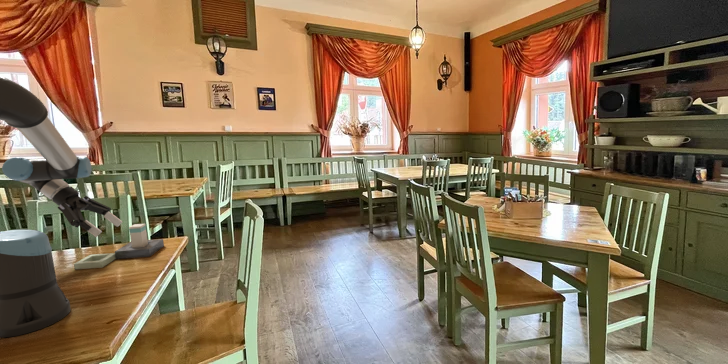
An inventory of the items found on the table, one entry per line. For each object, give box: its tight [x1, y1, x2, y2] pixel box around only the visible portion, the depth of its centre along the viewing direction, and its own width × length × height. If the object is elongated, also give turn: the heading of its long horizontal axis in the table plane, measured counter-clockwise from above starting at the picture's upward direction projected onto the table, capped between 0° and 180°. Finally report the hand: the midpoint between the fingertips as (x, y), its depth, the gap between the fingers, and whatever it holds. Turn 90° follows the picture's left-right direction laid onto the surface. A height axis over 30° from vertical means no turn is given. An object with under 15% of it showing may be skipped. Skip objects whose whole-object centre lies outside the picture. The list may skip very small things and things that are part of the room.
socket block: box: [114, 238, 165, 260], centre depth 135 cm, size 12×12×3 cm
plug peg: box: [128, 223, 149, 248], centre depth 135 cm, size 4×4×11 cm
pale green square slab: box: [73, 252, 117, 270], centre depth 125 cm, size 9×9×2 cm
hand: (110, 229), depth 133 cm, fingers open, 13 cm apart
